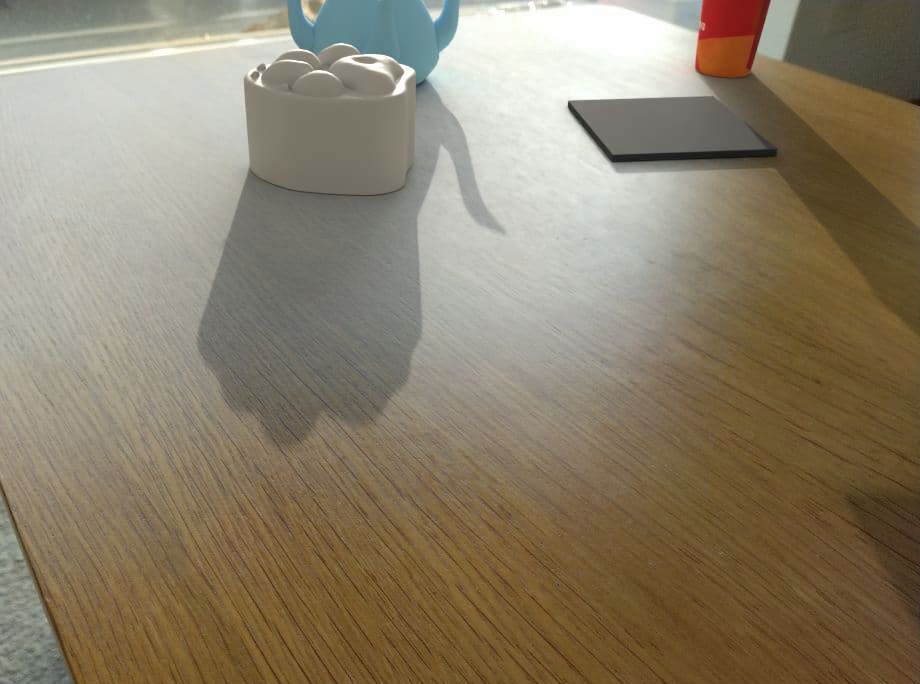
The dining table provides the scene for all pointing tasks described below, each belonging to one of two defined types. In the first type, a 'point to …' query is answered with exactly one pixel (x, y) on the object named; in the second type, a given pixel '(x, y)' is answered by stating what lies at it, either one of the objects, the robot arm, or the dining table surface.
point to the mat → (668, 129)
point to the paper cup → (729, 36)
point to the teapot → (378, 29)
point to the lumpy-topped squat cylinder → (331, 121)
